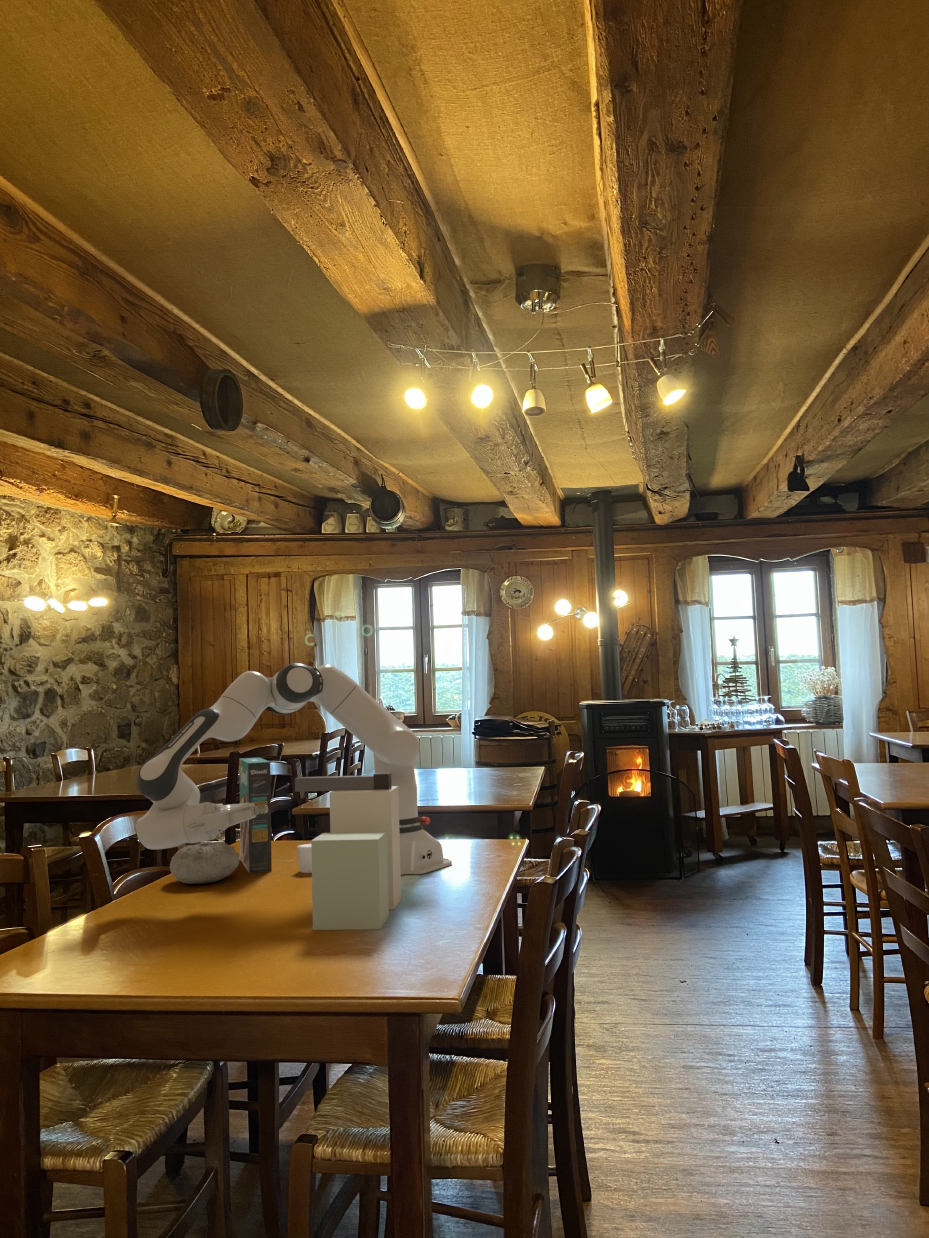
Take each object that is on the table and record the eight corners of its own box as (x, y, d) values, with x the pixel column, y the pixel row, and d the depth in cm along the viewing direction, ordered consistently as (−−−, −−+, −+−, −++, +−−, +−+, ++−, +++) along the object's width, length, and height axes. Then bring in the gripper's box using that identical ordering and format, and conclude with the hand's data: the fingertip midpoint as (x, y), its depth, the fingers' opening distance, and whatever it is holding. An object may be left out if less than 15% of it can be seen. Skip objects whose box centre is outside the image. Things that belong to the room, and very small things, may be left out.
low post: (312, 929, 179) (311, 840, 181) (325, 917, 189) (323, 832, 191) (380, 929, 178) (378, 839, 180) (389, 916, 188) (386, 831, 190)
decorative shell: (165, 879, 236) (165, 841, 237) (231, 871, 244) (231, 835, 245) (176, 891, 220) (176, 851, 221) (247, 882, 228) (246, 843, 229)
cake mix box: (240, 860, 261) (239, 758, 263) (261, 858, 263) (259, 757, 266) (249, 873, 240) (248, 763, 243) (271, 871, 243) (270, 761, 245)
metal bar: (294, 791, 201) (294, 776, 202) (298, 789, 205) (298, 774, 205) (389, 789, 200) (388, 773, 200) (391, 787, 203) (391, 772, 203)
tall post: (331, 910, 195) (329, 792, 197) (342, 899, 205) (339, 787, 207) (393, 909, 194) (390, 790, 196) (401, 899, 204) (398, 786, 206)
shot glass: (317, 873, 237) (317, 847, 238) (293, 873, 238) (293, 847, 239) (326, 868, 244) (326, 842, 244) (303, 868, 245) (302, 842, 246)
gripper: (181, 814, 196) (239, 802, 194) (219, 803, 216) (272, 793, 214) (186, 842, 195) (244, 831, 194) (223, 829, 215) (276, 818, 214)
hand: (259, 811), depth 204 cm, fingers open, 8 cm apart
